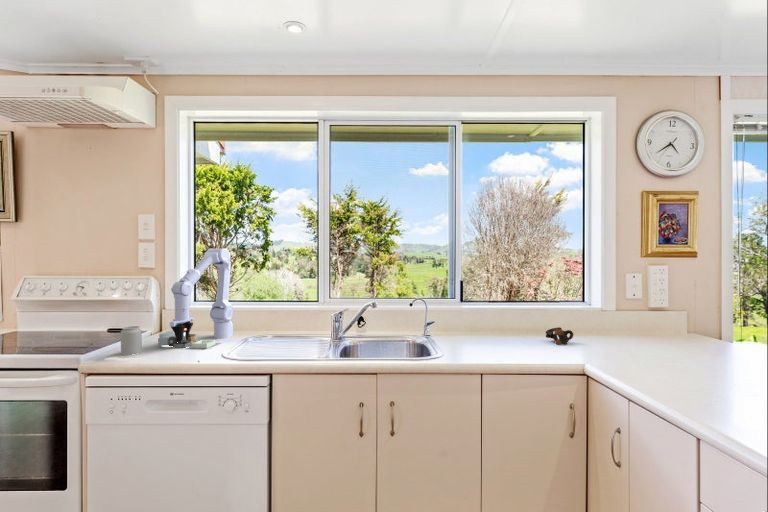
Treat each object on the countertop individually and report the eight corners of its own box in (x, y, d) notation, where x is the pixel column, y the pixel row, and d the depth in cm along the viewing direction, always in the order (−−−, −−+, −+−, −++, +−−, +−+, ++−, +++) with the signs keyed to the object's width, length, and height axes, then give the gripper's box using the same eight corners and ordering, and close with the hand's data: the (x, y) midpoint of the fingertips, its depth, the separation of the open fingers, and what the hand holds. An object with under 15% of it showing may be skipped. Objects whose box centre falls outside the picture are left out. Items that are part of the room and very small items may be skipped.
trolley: (173, 341, 205) (173, 330, 205) (188, 342, 204) (187, 330, 204) (158, 346, 195) (158, 334, 195) (173, 347, 194) (173, 335, 194)
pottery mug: (550, 346, 201) (544, 329, 205) (548, 351, 209) (543, 334, 213) (577, 340, 200) (571, 323, 203) (574, 345, 208) (568, 328, 212)
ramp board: (173, 344, 206) (173, 338, 206) (221, 345, 202) (221, 339, 202) (155, 350, 194) (155, 343, 194) (206, 352, 190) (206, 345, 190)
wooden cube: (188, 342, 204) (187, 333, 204) (196, 342, 203) (195, 334, 203) (182, 344, 200) (182, 335, 200) (190, 344, 199) (190, 335, 199)
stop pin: (181, 345, 197) (180, 327, 197) (189, 345, 197) (188, 327, 197) (175, 347, 194) (175, 329, 194) (183, 347, 193) (183, 329, 193)
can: (125, 359, 178) (125, 329, 178) (117, 356, 183) (117, 327, 183) (145, 355, 184) (144, 326, 184) (136, 353, 189) (136, 324, 189)
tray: (201, 344, 199) (201, 339, 199) (215, 345, 198) (215, 340, 198) (192, 348, 192) (192, 343, 192) (206, 348, 191) (206, 343, 191)
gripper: (183, 306, 203) (184, 336, 203) (162, 311, 188) (163, 343, 189) (197, 307, 202) (198, 337, 202) (178, 311, 187) (178, 344, 188)
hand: (182, 340), depth 195 cm, fingers closed on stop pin, 4 cm apart
